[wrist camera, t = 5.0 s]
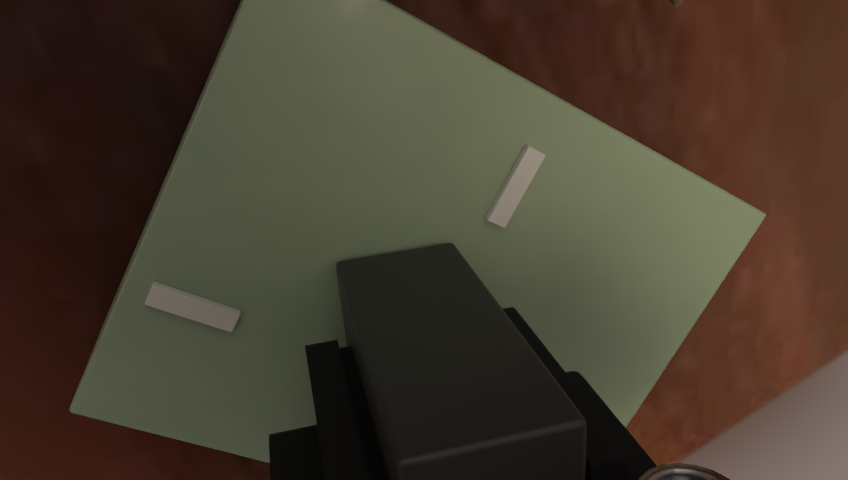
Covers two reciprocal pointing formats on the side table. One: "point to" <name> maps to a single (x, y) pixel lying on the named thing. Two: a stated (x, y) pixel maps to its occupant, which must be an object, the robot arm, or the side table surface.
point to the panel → (391, 223)
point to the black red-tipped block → (453, 374)
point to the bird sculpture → (677, 2)
